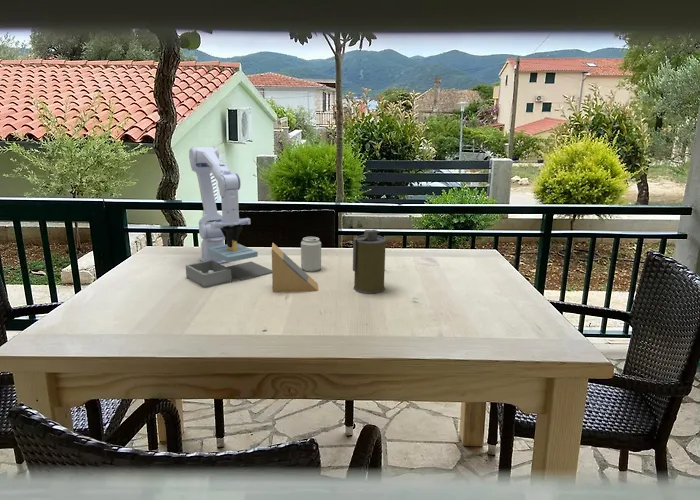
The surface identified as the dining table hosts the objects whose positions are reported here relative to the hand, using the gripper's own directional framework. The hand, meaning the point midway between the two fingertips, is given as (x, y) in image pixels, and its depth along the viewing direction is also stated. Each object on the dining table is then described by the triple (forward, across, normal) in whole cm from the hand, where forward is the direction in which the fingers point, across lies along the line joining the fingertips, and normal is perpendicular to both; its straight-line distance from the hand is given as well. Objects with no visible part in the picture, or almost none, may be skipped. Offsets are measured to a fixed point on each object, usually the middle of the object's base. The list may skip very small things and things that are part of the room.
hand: (232, 246), depth 184 cm
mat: (+10, +5, 0) cm, 12 cm away
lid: (+3, 0, 0) cm, 3 cm away
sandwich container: (+11, +9, -26) cm, 29 cm away
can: (+11, +26, -13) cm, 30 cm away
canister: (+10, +28, -42) cm, 51 cm away
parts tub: (+10, -10, 0) cm, 14 cm away
